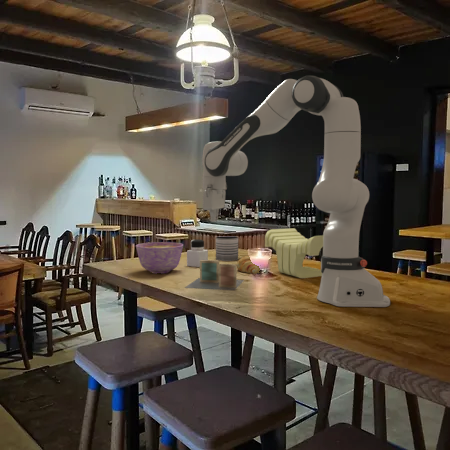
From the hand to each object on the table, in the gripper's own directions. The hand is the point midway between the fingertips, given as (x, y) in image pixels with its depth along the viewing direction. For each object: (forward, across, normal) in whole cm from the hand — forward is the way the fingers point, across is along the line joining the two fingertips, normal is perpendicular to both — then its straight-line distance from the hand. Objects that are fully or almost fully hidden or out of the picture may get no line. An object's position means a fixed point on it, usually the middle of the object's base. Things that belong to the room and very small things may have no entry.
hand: (214, 221), depth 178 cm
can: (+23, +54, +7) cm, 59 cm away
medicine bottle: (+23, +32, +16) cm, 42 cm away
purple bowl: (+23, +12, +27) cm, 38 cm away
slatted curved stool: (+23, +21, -32) cm, 45 cm away
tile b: (+22, -13, -8) cm, 27 cm away
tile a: (+22, -6, 0) cm, 23 cm away
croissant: (+24, +24, -9) cm, 34 cm away
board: (+23, -10, -3) cm, 25 cm away
